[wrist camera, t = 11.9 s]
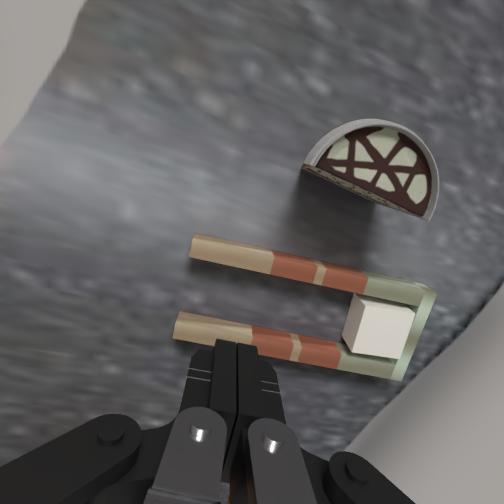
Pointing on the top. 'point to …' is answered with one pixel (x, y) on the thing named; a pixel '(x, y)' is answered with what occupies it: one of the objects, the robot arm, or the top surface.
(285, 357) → the channel
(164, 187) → the top surface
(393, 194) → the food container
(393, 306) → the ivory block
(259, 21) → the top surface
